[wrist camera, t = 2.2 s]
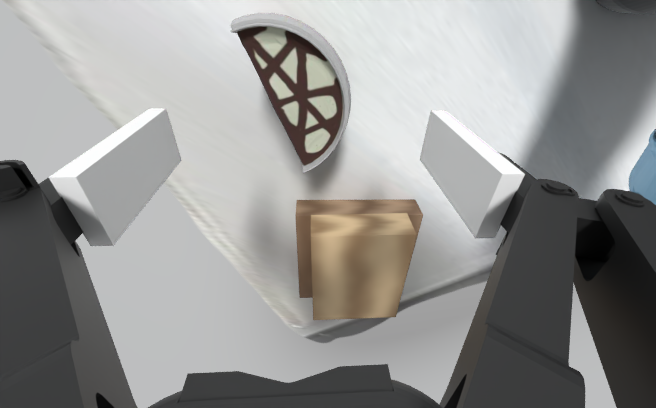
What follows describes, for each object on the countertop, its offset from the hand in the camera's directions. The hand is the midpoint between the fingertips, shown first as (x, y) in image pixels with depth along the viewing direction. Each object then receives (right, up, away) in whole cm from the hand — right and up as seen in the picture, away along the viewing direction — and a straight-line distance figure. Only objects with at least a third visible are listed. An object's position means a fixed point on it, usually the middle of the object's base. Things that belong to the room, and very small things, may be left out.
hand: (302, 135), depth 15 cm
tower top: (+5, -11, +25) cm, 28 cm away
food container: (-1, +10, +14) cm, 18 cm away
